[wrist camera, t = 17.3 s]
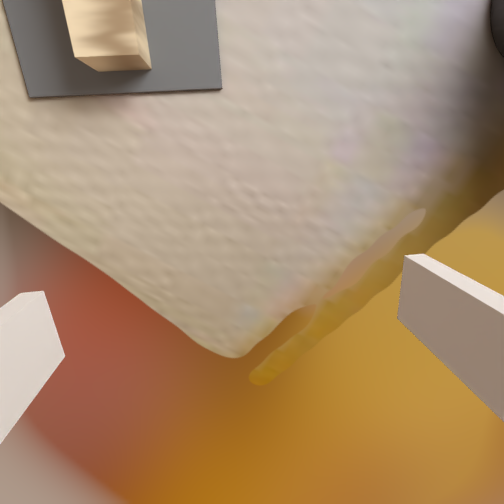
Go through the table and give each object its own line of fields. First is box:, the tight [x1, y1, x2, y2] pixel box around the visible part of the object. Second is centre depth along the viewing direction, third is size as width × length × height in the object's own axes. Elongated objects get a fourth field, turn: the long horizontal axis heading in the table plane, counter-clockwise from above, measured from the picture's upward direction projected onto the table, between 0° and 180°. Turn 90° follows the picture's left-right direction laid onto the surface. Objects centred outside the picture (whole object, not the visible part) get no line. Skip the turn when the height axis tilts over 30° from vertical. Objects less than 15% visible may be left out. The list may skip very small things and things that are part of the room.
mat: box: [3, 0, 222, 98], centre depth 33 cm, size 22×16×1 cm
